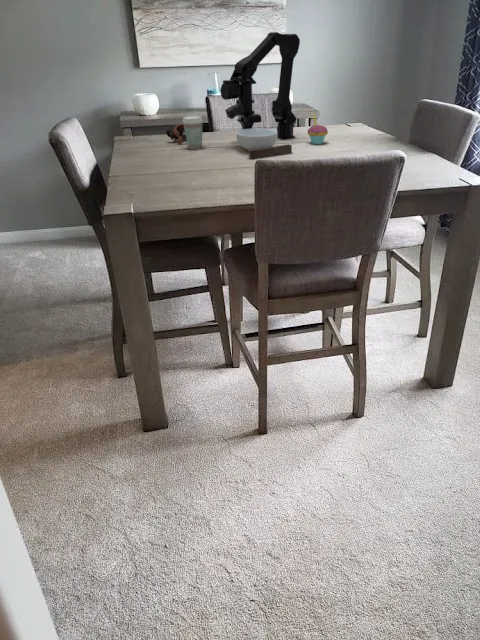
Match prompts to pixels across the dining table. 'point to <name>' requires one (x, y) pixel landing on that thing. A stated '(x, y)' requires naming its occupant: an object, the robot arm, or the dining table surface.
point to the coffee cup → (193, 131)
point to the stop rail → (270, 151)
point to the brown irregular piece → (177, 133)
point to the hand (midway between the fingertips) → (246, 137)
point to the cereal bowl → (256, 138)
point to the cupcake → (317, 133)
